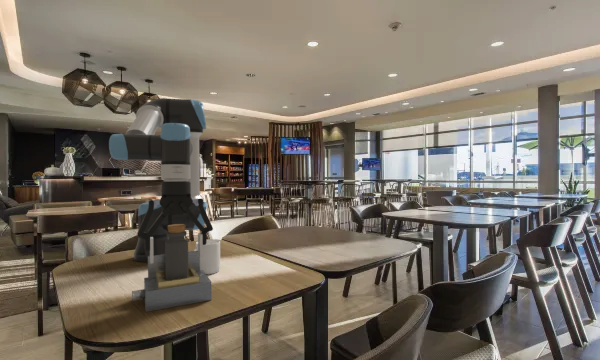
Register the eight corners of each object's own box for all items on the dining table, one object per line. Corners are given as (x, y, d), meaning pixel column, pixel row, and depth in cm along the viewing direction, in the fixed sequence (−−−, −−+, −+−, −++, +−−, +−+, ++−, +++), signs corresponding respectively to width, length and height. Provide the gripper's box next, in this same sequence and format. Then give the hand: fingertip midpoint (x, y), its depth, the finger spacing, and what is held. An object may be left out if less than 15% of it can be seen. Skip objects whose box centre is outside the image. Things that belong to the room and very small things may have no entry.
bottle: (182, 275, 92) (182, 223, 92) (192, 279, 88) (191, 225, 88) (162, 279, 88) (161, 225, 88) (170, 284, 84) (170, 227, 84)
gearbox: (132, 297, 88) (131, 257, 88) (202, 286, 97) (202, 250, 97) (132, 314, 78) (131, 269, 78) (211, 300, 87) (211, 259, 86)
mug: (198, 279, 104) (198, 247, 104) (181, 275, 108) (181, 245, 108) (225, 270, 114) (225, 241, 114) (208, 266, 118) (208, 238, 118)
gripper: (125, 181, 79) (126, 268, 79) (223, 180, 90) (224, 257, 90) (126, 180, 85) (127, 261, 86) (217, 179, 97) (217, 251, 97)
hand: (176, 259), depth 88 cm, fingers open, 12 cm apart
